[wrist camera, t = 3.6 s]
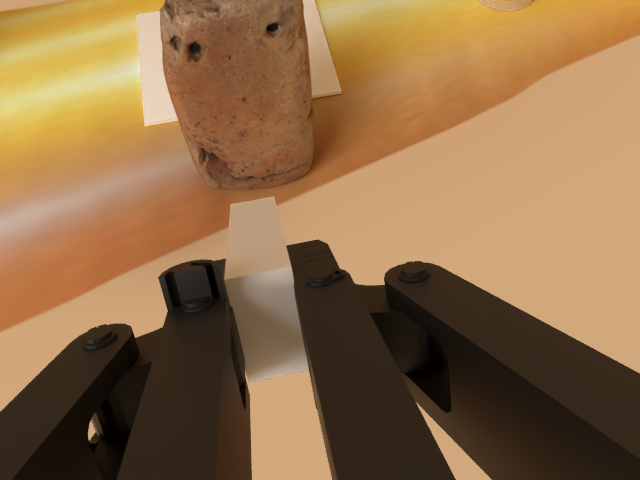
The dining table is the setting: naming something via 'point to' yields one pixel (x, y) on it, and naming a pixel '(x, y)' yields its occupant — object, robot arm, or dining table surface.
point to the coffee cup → (506, 4)
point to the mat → (153, 77)
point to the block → (241, 88)
